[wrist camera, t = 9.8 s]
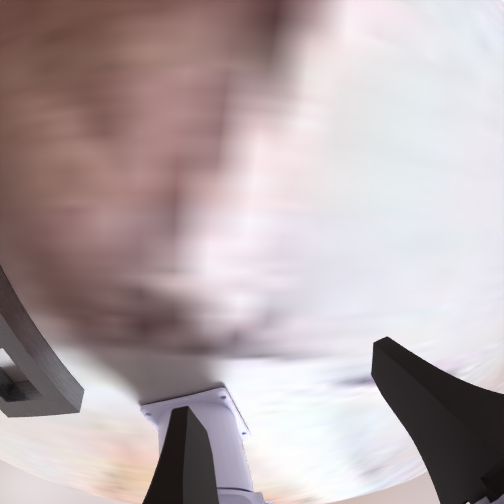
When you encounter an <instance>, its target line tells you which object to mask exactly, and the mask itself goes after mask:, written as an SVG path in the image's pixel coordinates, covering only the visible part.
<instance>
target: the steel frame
mask: <svg viewBox="0 0 504 504" xmlns="http://www.w3.org/2000/svg"><path fill="white" fill-rule="evenodd" d="M1 348H3V349H4V350H5V351H6V353H7V354H8V355H9V357H10V358H11V359H12V360H13V362H14V363H15V364H16V365H17V367H18V368H19V369H20V370H21V372H22V373H23V374H24V375H25V376H26V378H27V379H28V380H29V381H25V382H19V383H13V382H12V381H11V379H10V378H9V377H8V376H7V375H6V373H5V372H4V371H3V370H2V369H1V367H0V410H1V411H2V412H3V413H4V414H5V415H6V416H7V417H33V416H48V415H60V414H70V413H79V412H80V408H81V403H82V399H83V394H84V389H83V388H82V387H81V386H80V385H79V384H78V382H77V381H76V380H75V379H74V378H73V376H72V375H71V374H70V373H69V372H68V370H67V369H66V368H65V367H64V365H63V364H62V363H61V361H60V360H59V359H58V358H57V356H56V355H55V354H54V352H53V351H52V350H51V348H50V347H49V345H48V344H47V343H46V341H45V340H44V338H43V337H42V335H41V334H40V333H39V331H38V330H37V328H36V327H35V325H34V324H33V322H32V321H31V319H30V317H29V316H28V314H27V313H26V311H25V310H24V308H23V306H22V305H21V303H20V301H19V300H18V298H17V296H16V295H15V293H14V291H13V289H12V287H11V286H10V284H9V282H8V280H7V278H6V276H5V275H4V273H3V271H2V269H1V267H0V349H1Z"/></svg>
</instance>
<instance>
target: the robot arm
mask: <svg viewBox="0 0 504 504" xmlns="http://www.w3.org/2000/svg"><path fill="white" fill-rule="evenodd" d="M371 375H372V377H373V379H374V381H375V383H376V385H377V387H378V389H379V391H380V392H381V394H382V396H383V397H384V399H385V400H386V402H387V403H388V405H389V406H390V407H391V409H392V410H393V412H394V413H395V415H396V416H397V417H398V419H399V420H400V422H401V423H402V424H403V426H404V427H405V429H406V430H407V432H408V433H409V435H410V436H411V438H412V440H413V441H414V443H415V445H416V447H417V449H418V451H419V453H420V455H421V457H422V459H423V461H424V463H425V465H426V468H427V470H428V472H429V474H430V476H431V479H432V482H433V484H434V486H435V489H436V492H437V495H438V498H439V501H440V504H466V503H467V502H469V503H470V504H504V394H501V393H497V392H493V391H490V390H486V389H483V388H480V387H478V386H475V385H472V384H470V383H467V382H465V381H463V380H461V379H458V378H456V377H454V376H452V375H450V374H448V373H446V372H444V371H442V370H441V369H439V368H437V367H435V366H433V365H432V364H430V363H428V362H427V361H425V360H423V359H422V358H420V357H418V356H417V355H415V354H414V353H412V352H410V351H409V350H407V349H406V348H404V347H403V346H401V345H400V344H398V343H397V342H395V341H394V340H392V339H391V338H389V337H385V338H382V339H380V340H378V341H376V342H374V343H373V359H372V371H371ZM140 411H141V412H142V413H143V415H144V416H145V417H146V418H147V419H148V420H149V421H150V422H151V423H152V424H153V425H154V427H155V428H156V429H157V430H158V432H159V461H158V464H157V467H156V470H155V473H154V476H153V479H152V482H151V484H150V487H149V489H148V492H147V494H146V497H145V499H144V501H143V503H142V504H274V503H272V502H270V501H264V498H263V495H262V493H261V492H257V493H254V491H253V480H252V477H251V473H250V469H249V465H248V461H247V457H246V453H245V449H244V445H243V441H242V440H246V439H249V438H250V437H251V434H250V432H249V430H248V428H247V427H246V425H245V423H244V421H243V419H242V418H241V416H240V414H239V412H238V410H237V408H236V407H235V405H234V403H233V401H232V399H231V397H230V395H229V393H228V391H227V390H226V389H225V388H217V389H213V390H209V391H205V392H201V393H197V394H193V395H189V396H185V397H181V398H176V399H172V400H167V401H162V402H157V403H152V404H147V405H143V406H141V409H140Z"/></svg>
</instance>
